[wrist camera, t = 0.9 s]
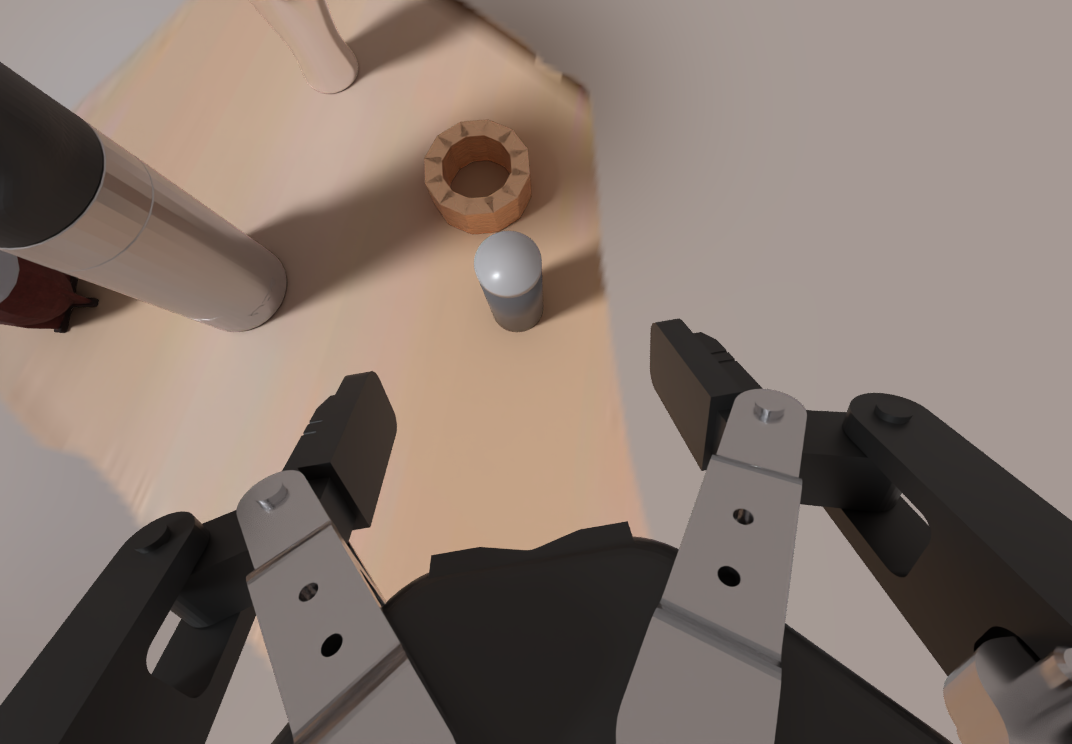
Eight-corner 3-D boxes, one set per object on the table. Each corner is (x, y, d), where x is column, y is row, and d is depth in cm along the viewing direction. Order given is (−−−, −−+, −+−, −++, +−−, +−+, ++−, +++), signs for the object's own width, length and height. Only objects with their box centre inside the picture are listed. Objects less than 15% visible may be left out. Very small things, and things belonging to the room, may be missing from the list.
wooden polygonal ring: (417, 210, 42) (405, 189, 39) (462, 132, 44) (454, 106, 40) (503, 248, 41) (499, 230, 38) (546, 167, 43) (546, 143, 39)
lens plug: (483, 319, 40) (462, 277, 30) (506, 275, 41) (492, 220, 31) (529, 340, 39) (523, 304, 30) (551, 295, 40) (552, 246, 30)
